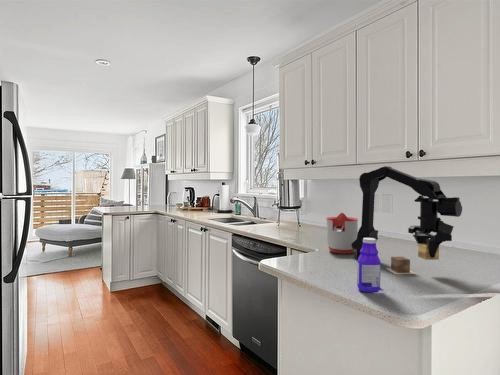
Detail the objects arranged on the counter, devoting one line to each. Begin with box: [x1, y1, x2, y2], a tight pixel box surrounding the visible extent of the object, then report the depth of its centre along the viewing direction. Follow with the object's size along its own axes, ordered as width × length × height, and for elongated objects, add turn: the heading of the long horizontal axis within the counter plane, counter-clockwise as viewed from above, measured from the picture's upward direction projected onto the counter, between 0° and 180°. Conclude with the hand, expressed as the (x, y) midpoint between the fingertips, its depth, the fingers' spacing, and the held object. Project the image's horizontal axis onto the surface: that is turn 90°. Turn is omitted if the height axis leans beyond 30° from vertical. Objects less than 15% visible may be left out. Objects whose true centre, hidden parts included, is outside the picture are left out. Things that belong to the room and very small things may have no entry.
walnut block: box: [390, 256, 411, 273], centre depth 129 cm, size 5×5×5 cm
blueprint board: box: [385, 267, 416, 275], centre depth 127 cm, size 16×18×1 cm
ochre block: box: [417, 243, 440, 261], centre depth 124 cm, size 5×5×5 cm
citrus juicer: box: [325, 212, 359, 255], centre depth 166 cm, size 16×17×20 cm
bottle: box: [356, 238, 382, 293], centre depth 110 cm, size 7×6×17 cm
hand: (428, 255), depth 124 cm, fingers closed on ochre block, 5 cm apart
